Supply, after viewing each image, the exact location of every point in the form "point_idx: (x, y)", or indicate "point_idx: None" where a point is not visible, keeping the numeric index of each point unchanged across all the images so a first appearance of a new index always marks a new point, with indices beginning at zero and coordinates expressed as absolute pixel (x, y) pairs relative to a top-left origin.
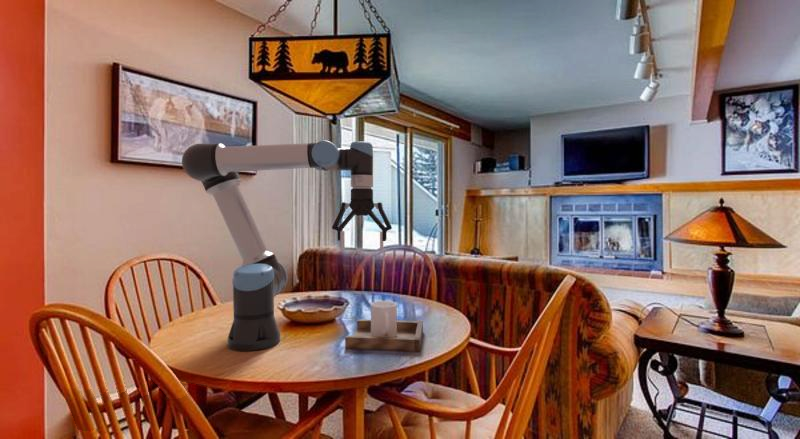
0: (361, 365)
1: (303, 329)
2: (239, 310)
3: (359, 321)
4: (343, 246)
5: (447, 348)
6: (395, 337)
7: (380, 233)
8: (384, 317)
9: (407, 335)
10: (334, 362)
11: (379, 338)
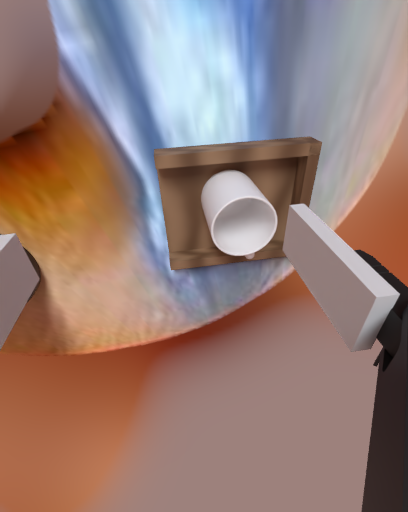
0: (212, 298)
1: (17, 176)
2: None
3: (162, 167)
4: (17, 276)
5: (337, 220)
6: (258, 253)
7: (347, 338)
8: (245, 256)
9: (275, 182)
10: (173, 299)
11: (231, 262)
